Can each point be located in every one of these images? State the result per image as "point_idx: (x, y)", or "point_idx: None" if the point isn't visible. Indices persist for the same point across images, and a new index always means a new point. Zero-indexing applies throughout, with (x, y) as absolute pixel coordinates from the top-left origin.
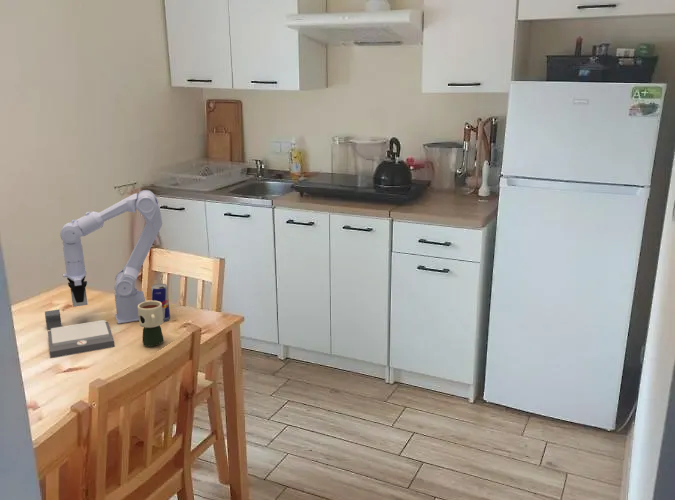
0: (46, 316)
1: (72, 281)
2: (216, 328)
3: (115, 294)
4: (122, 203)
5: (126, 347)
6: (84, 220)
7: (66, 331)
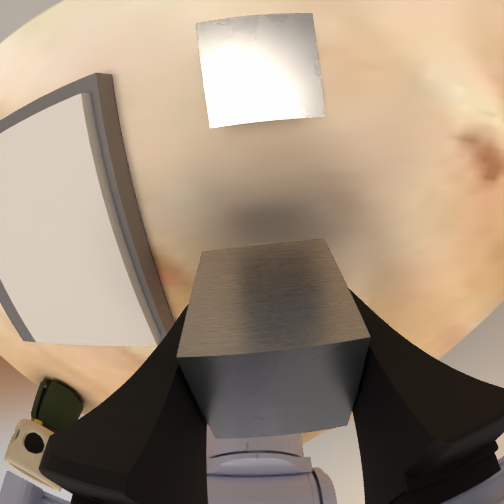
0: (197, 32)
1: (398, 431)
2: None
3: (232, 459)
4: None
5: (35, 348)
6: None
7: (34, 192)
